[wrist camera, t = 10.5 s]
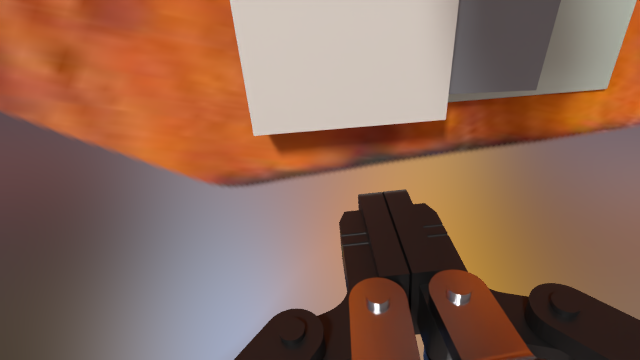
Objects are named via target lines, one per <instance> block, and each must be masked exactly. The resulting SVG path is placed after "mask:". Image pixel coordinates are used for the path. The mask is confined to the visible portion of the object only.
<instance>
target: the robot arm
mask: <svg viewBox="0 0 640 360" xmlns="http://www.w3.org/2000/svg"><path fill="white" fill-rule="evenodd" d="M358 204H359V210H357V211H348V212H344V214H343V216H342V218H341V220H340V222H339V225H340V237H341V248H342V257H343V258H342V259H343V266H344V273H345V280H346V287H347V295H346V297H345V298H344V300H343V301H342V303H341V304H339V305H338V306H337V307H336V308H334V309H332V310H330V311H328V312H326V313H323V314H321V315H319V316H316V315H315V314H313V313H312V312H310V311H307V310H304V309H290V310H286V311H283V312H281V313H279V314H277V315H276V316H274V317H273V318H272V319H271V320H270V321H269V322H268V323H267V324H266V325H265V326H264V327H263V329H262V330H261V331H260V332H259V333H258V334H257V335H256V336H255V337H254V338H253V339H252V341H251V342H250V343H249V344H248V345H247V346H246V347H245V348H244V349H243V350H242V351H241V353H240V354H239V355H238V356H237V357H236V358H235V359H234V360H420V356H419V351H418V346H417V341H416V337H415V335H416V334H421V337H422V341H423V344H424V354H423V357H424V360H640V320H638V319H636V318H634V317H632V316H630V315H628V314H626V313H624V312H622V311H620V310H618V309H616V308H613V307H611V306H609V305H607V304H605V303H603V302H601V301H599V300H597V299H595V298H593V297H591V296H589V295H587V294H585V293H582V292H581V291H578V290H576V289H574V288H572V287H569V286H566V285H561V284H555V283H547V284H542V285H538V286H537V287H535V288H534V289H533V290H532V291H531V293H530V295H529V297H527V296H520V295H514V294H507V293H502V292H497V291H494V290H491V289H489V288H488V287H487V286H486V284H485V283H484V282H483V281H482V280H481V279H480V278H478V277H477V276H475V275H473V274H471V273H468V271H467V270H466V268H465V266H464V264H463V262H462V260H461V258H460V256H459V254H458V252H457V251H456V249H455V247H454V245H453V243H452V241H451V239H450V237H449V236H448V235H447V232H446V230H445V228H444V226H443V225H442V222H441V220H440V218H439V217H438V215H437V213H436V212H435V211H434V210H433V209H431V208H430V207H429V206H428V205H426V204H425V203H422V204H413V203H412V201H411V199H410V196H409V194H408V192H407V191H406V190H396V191H387V192H378V193H368V194H359V195H358Z"/></svg>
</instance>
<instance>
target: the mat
mask: <svg viewBox="0 0 640 360" xmlns="http://www.w3.org/2000/svg"><path fill="white" fill-rule="evenodd" d="M636 1H637V0H561V2H560V6H559V9H558V13H557V17H556V20H555V24H554V28H553V31H552V35H551V39H550V42H549V46H548V49H547V53H546V57H545V60H544V64H543V68H542V71H541V75H540V78H539V82H538V86H537V89H536V90H531V91H509V92H487V93H465V94H449V95H448V102H457V101H469V100H481V99H493V98H505V97H517V96H529V95H541V94H553V93H565V92H576V91H588V90H600V89H607V87H608V84H609V81H610V78H611V75H612V72H613V69H614V66H615V63H616V60H617V57H618V54H619V51H620V48H621V45H622V42H623V39H624V36H625V33H626V30H627V27H628V24H629V21H630V18H631V15H632V13H633V10H634V7H635V4H636Z"/></svg>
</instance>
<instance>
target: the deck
mask: <svg viewBox="0 0 640 360" xmlns="http://www.w3.org/2000/svg"><path fill="white" fill-rule="evenodd" d="M230 4H231V10H232V15H233V21H234V27H235V32H236V38H237V43H238V49H239V55H240V60H241V66H242V72H243V77H244V83H245V88H246V94H247V100H248V105H249V111H250V117H251V122H252V128H253V133H254V136H258V135H270V134H282V133H294V132H305V131H317V130H329V129H341V128H353V127H365V126H377V125H389V124H401V123H413V122H425V121H437V120H446V112H447V103H448V95H449V86H450V77H451V68H452V59H453V50H454V41H455V32H456V23H457V14H458V5H459V0H230Z"/></svg>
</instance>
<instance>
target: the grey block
mask: <svg viewBox="0 0 640 360" xmlns="http://www.w3.org/2000/svg"><path fill="white" fill-rule="evenodd" d="M560 2H561V0H459V5H458V14H457V23H456V32H455V41H454V50H453V59H452V68H451V77H450V86H449V94H465V93H487V92H509V91H531V90H536V89H537V86H538V82H539V78H540V75H541V71H542V68H543V64H544V60H545V57H546V53H547V49H548V46H549V42H550V39H551V35H552V31H553V28H554V24H555V20H556V17H557V13H558V9H559V6H560Z"/></svg>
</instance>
